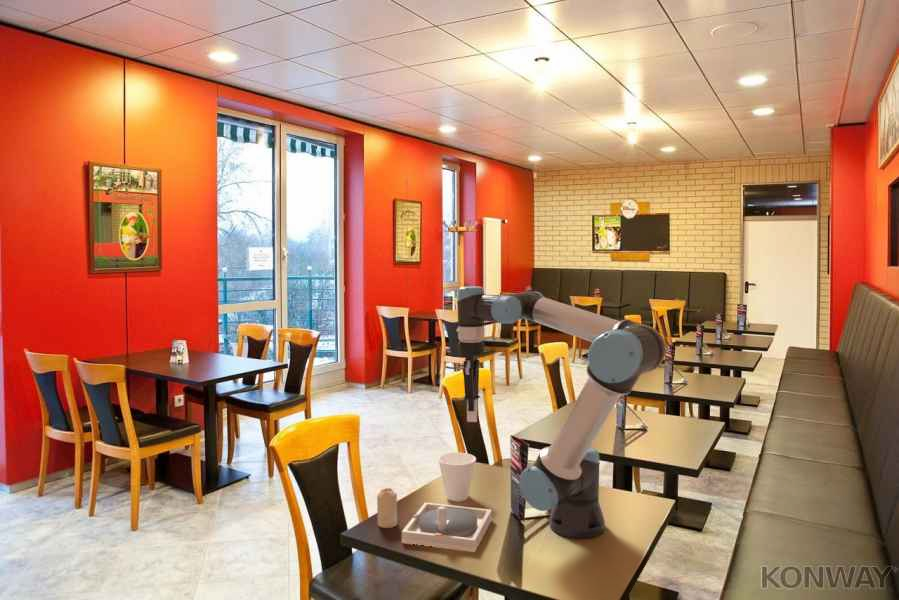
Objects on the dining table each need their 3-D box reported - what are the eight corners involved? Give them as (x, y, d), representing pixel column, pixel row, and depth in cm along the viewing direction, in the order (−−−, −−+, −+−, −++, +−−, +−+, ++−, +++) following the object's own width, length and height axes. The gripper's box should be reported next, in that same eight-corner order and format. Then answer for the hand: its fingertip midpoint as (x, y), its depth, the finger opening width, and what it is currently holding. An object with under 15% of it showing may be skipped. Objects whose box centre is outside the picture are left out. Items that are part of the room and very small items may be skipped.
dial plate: (491, 520, 191) (491, 508, 191) (474, 552, 172) (474, 539, 172) (425, 512, 197) (425, 501, 196) (401, 543, 178) (401, 530, 177)
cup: (476, 504, 202) (476, 465, 201) (437, 504, 203) (437, 465, 201) (475, 489, 214) (475, 452, 213) (438, 489, 214) (438, 452, 213)
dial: (428, 512, 194) (428, 485, 193) (482, 517, 190) (482, 490, 189) (412, 536, 178) (411, 507, 178) (470, 542, 175) (470, 513, 174)
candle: (394, 529, 186) (393, 494, 185) (375, 527, 187) (374, 493, 186) (399, 520, 191) (398, 487, 190) (381, 519, 193) (380, 485, 192)
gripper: (463, 336, 198) (464, 414, 200) (453, 343, 185) (454, 426, 187) (488, 337, 196) (488, 415, 198) (479, 344, 183) (480, 428, 186)
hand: (472, 421), depth 193 cm, fingers closed
